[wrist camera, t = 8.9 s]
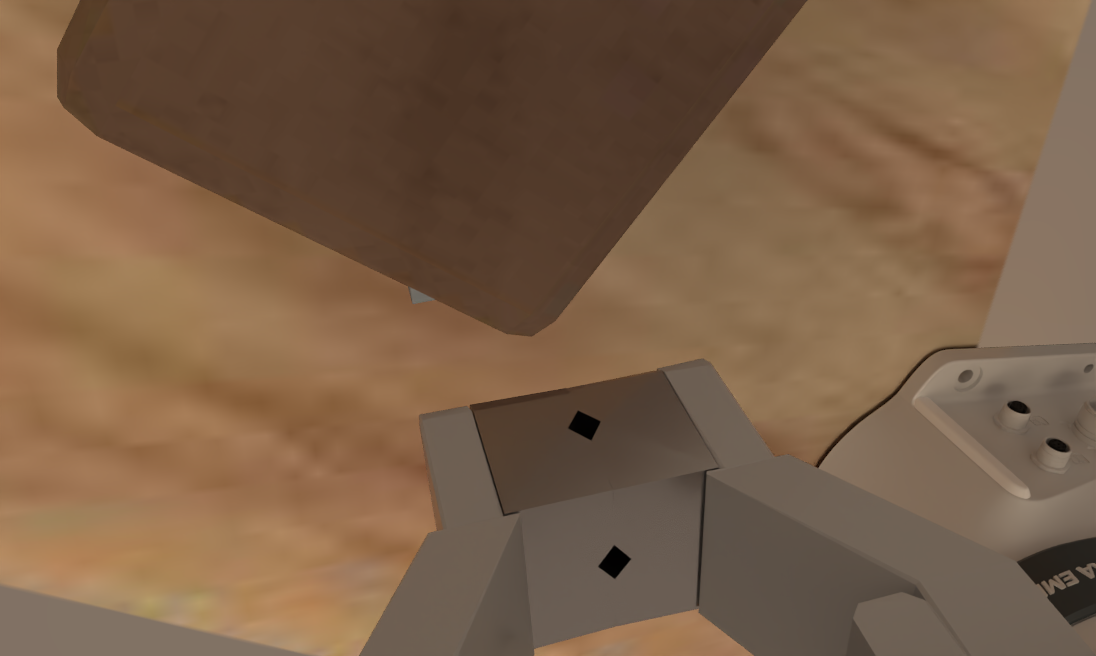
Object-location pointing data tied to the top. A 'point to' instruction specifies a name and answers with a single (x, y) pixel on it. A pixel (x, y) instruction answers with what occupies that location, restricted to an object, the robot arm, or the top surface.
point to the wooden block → (424, 122)
